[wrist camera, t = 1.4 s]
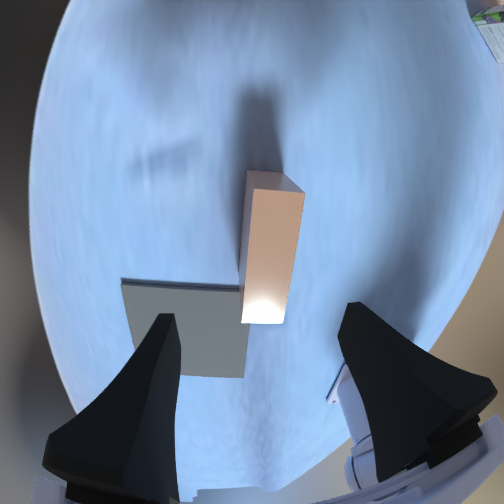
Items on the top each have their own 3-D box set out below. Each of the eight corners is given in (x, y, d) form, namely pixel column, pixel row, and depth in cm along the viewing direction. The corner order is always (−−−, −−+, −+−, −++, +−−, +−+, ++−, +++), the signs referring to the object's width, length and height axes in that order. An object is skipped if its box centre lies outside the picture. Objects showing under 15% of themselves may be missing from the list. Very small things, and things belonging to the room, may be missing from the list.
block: (285, 172, 18) (308, 193, 13) (271, 273, 22) (284, 323, 16) (246, 169, 18) (253, 188, 13) (238, 272, 21) (241, 322, 16)
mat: (252, 290, 22) (253, 292, 22) (243, 375, 27) (243, 377, 27) (122, 282, 21) (120, 284, 21) (141, 367, 26) (140, 370, 25)
